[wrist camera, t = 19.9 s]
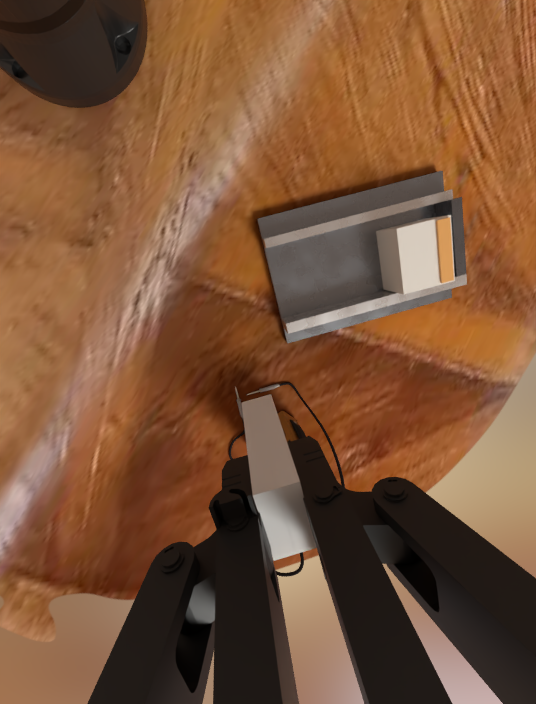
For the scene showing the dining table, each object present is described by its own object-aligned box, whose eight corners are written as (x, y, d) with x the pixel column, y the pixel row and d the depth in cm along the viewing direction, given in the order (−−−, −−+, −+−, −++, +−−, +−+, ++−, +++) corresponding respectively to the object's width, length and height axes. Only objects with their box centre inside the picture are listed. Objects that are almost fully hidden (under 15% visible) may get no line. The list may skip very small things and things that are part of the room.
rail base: (256, 219, 39) (260, 216, 35) (437, 172, 40) (459, 164, 36) (286, 341, 44) (292, 350, 40) (446, 296, 45) (467, 300, 41)
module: (375, 231, 40) (397, 228, 35) (424, 218, 40) (452, 214, 35) (383, 289, 42) (405, 294, 37) (428, 277, 42) (456, 281, 37)
